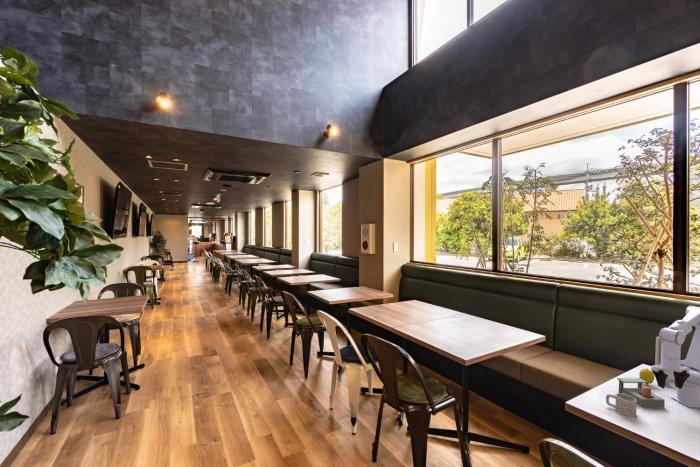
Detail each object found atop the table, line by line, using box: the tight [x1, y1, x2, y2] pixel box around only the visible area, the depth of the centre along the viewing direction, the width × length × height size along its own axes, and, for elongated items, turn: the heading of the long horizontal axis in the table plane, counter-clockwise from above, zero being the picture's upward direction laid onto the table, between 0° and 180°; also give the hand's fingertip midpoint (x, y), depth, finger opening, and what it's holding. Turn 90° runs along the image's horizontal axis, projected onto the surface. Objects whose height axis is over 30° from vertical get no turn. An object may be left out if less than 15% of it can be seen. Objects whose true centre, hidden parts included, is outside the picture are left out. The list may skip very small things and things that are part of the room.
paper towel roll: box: [654, 336, 675, 381], centre depth 168 cm, size 7×6×21 cm
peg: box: [641, 385, 652, 398], centre depth 142 cm, size 3×3×7 cm
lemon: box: [638, 368, 655, 385], centre depth 160 cm, size 6×6×8 cm
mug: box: [605, 392, 638, 418], centre depth 136 cm, size 10×7×7 cm, turn 44°
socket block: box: [616, 377, 665, 409], centre depth 145 cm, size 11×12×7 cm
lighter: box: [650, 365, 671, 388], centre depth 161 cm, size 7×2×8 cm, turn 42°
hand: (669, 387), depth 138 cm, fingers open, 7 cm apart
